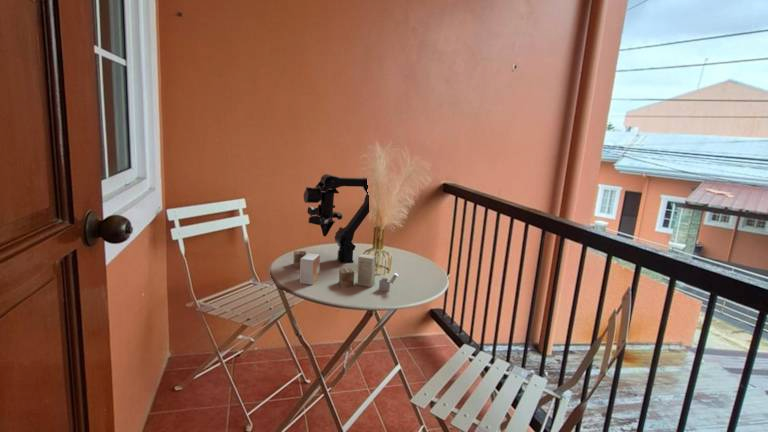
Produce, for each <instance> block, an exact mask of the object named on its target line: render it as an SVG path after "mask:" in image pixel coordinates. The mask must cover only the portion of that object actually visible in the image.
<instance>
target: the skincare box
mask: <svg viewBox="0 0 768 432" xmlns="http://www.w3.org/2000/svg"><path fill="white" fill-rule="evenodd" d="M357 260H358V261H357V285H358V286H364V287H369V288H372V286H374V285H375V281H376V255H372V254H365V253H361V254H360V255H359V256H358V259H357Z"/></svg>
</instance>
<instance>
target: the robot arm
mask: <svg viewBox="0 0 768 432" xmlns="http://www.w3.org/2000/svg"><path fill="white" fill-rule="evenodd" d="M367 179H368V178H367V177H344V176H343V177H341V176H337V175H332V174H328V173H325V174H323V175H322V176H321V177H320V180H319V182H318V183H317V184H316V186H314V187H309V186H306V187H305V190H304V193H303V201H304V203H306V204H310V203H311V204H315V203H316V204H318V205H317V207H314V206H310V207H307V214H308V215H309V216H310V217H308V224H312V225H317V226H320V229H321V231H322V236H323V237H327V236H328V234H329V232H330V230H331V228H332V227H333V225H334V224H335V223H336V221H335V220H334V219H337V220H339V221H340V220H343V214H342V213H341V212H338V211H334V208H335V209H336V205H335V204H334V201H335V194H339V193H340V192H339V191H338V190H337V189H338V188H341V187H355V188H356V187H358V188H359V187H363V190H364V191H365V193H366V194H365V196H364V202H363V203H362V205H360V207H359V209H358V210H357V211H356V213H355V214H354V215H353V217H352V218H351V219H350V221H349V222H348V223H347V225H346V226H345V227H342V226H340V227H339V228H338V231H336V232H334V233H335V236H334V241H335V243H336V244H337V245H338V250H337V260H338V261H339V263H345V264H346V263H354V260H353V259H354V257H353V256H354V251H355V249H356V245H355V244H354V242H353V240H354V236H355V232H356V231H357V230H358V228H359V227H360V226H361V224H362V223H363V221H364V220H365V219H366V217H367V216H368V215H369V213H370V212H369V195H368V192H367V189H368V185H367ZM319 202H320V204H319Z"/></svg>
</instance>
